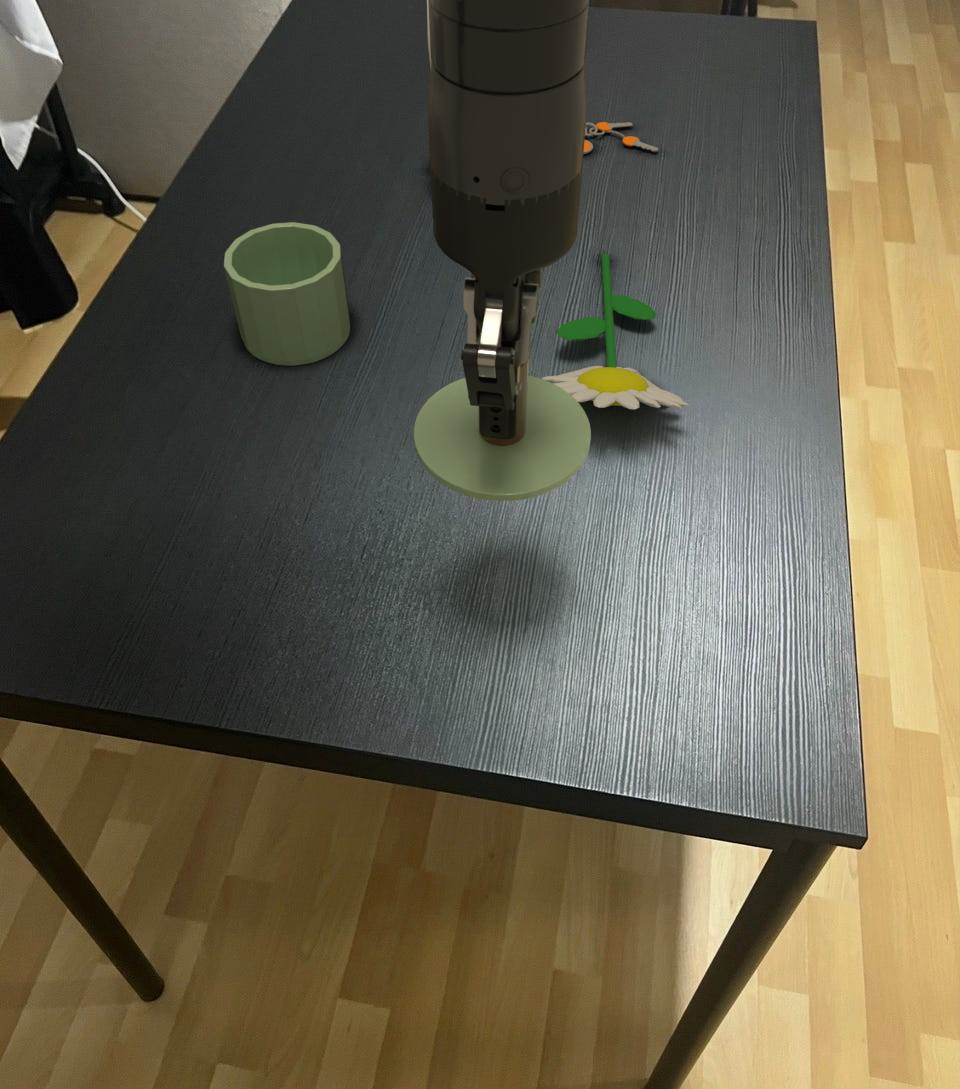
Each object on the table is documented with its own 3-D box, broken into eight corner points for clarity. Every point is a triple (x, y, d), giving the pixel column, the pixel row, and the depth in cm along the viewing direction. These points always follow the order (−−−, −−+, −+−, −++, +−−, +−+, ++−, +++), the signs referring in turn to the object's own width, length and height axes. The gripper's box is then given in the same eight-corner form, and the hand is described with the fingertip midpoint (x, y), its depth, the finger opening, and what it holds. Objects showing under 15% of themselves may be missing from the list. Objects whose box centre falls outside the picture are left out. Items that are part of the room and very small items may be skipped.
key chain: (549, 155, 116) (549, 148, 116) (548, 123, 121) (548, 117, 121) (659, 155, 116) (660, 148, 115) (653, 124, 121) (654, 117, 120)
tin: (296, 380, 91) (281, 304, 85) (219, 336, 96) (199, 260, 89) (372, 324, 97) (364, 248, 90) (297, 285, 101) (283, 210, 94)
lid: (517, 536, 59) (521, 449, 53) (378, 452, 63) (367, 364, 58) (623, 434, 64) (636, 345, 59) (488, 363, 69) (488, 275, 63)
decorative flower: (541, 277, 105) (534, 449, 83) (545, 234, 102) (539, 401, 79) (661, 287, 105) (686, 462, 83) (670, 244, 101) (698, 414, 79)
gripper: (455, 80, 54) (461, 338, 67) (401, 225, 45) (420, 489, 58) (595, 90, 53) (573, 349, 66) (568, 240, 44) (549, 504, 57)
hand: (502, 413), depth 62 cm, fingers closed on lid, 3 cm apart
